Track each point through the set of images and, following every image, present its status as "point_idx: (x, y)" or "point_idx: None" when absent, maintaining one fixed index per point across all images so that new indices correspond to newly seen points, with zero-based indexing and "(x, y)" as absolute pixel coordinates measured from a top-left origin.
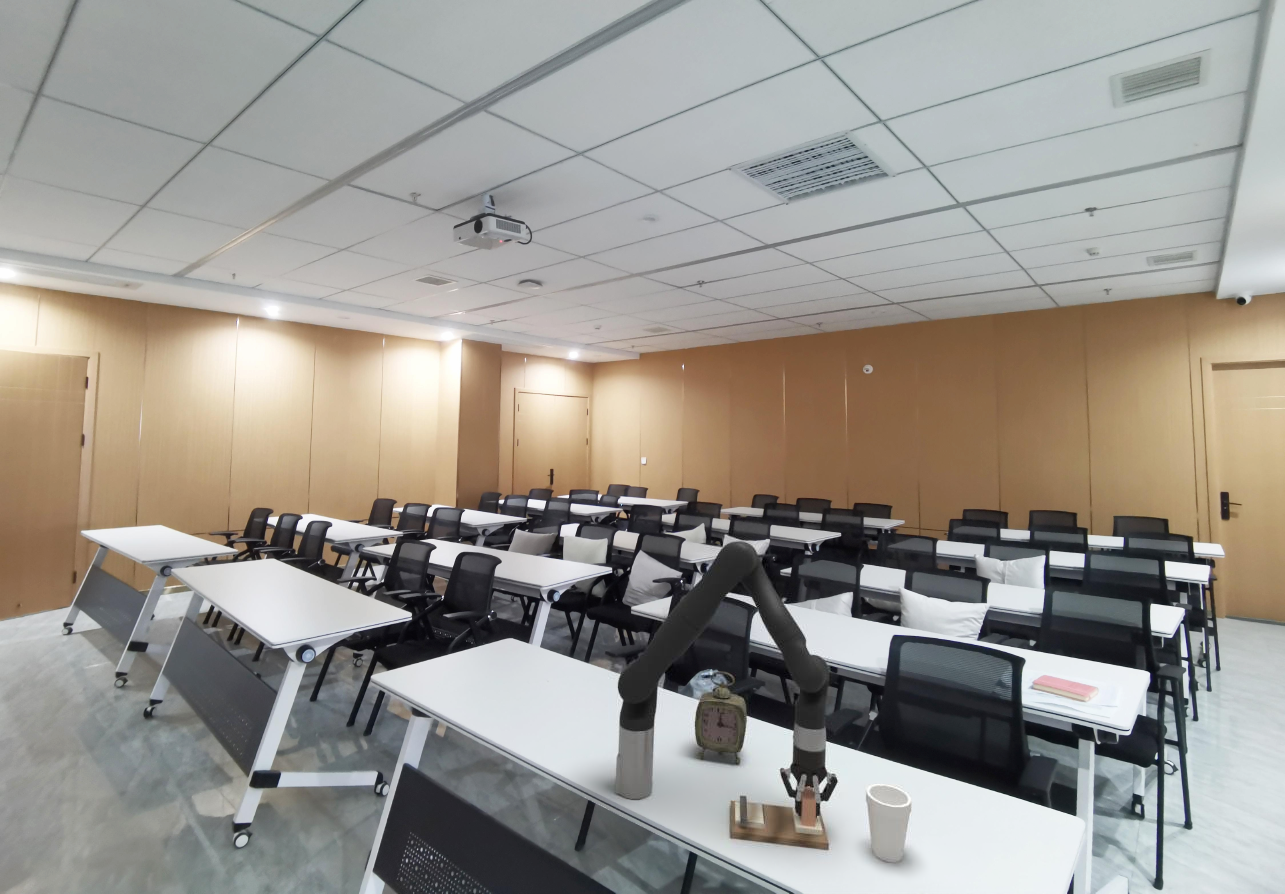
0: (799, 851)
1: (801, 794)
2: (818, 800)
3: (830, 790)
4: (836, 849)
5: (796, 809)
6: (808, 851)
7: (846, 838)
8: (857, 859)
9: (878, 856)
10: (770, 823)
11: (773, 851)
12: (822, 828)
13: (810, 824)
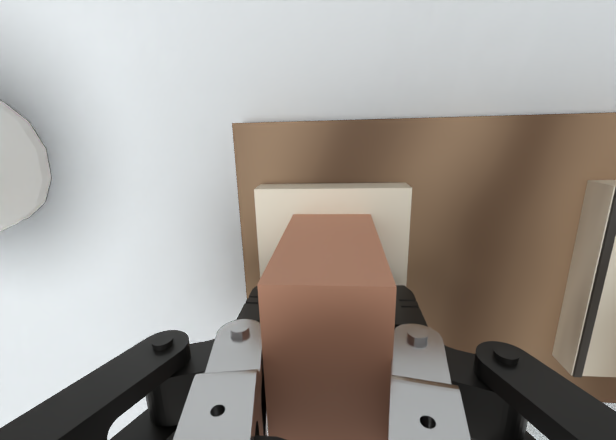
0: (393, 73)
1: (399, 362)
2: (237, 328)
3: (61, 409)
4: (205, 136)
5: (407, 296)
6: (345, 85)
7: (157, 232)
8: (111, 77)
9: (18, 117)
10: (539, 241)
11: (545, 35)
12: (255, 249)
13: (320, 217)
